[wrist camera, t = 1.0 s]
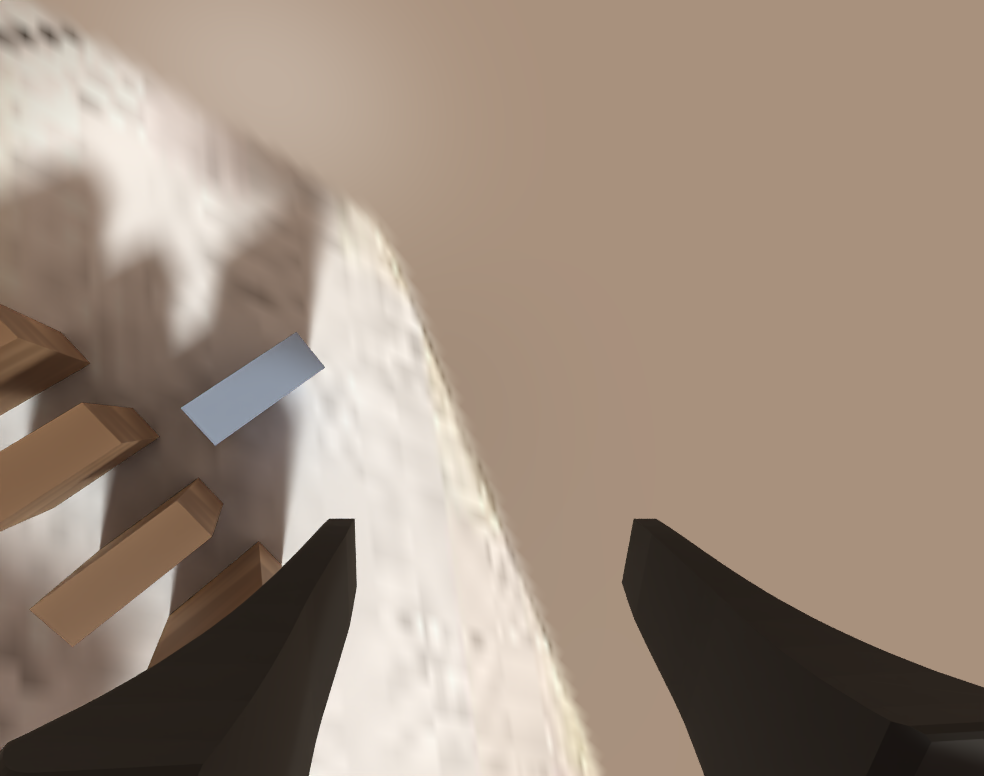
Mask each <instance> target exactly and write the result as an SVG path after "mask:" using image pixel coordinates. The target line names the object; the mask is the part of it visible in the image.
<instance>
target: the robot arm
mask: <svg viewBox="0 0 984 776" xmlns="http://www.w3.org/2000/svg"><path fill="white" fill-rule="evenodd" d="M622 584H623V587H624V590H625V593H626V597H627V600H628V603H629V606H630V608H631V611H632V614H633V617H634V620H635V621H636V624H637V626H638V628H639V630H640V632H641V634H642V636H643V638H644V640H645V643H646V645H647V647H648V649H649V651H650V653H651V655H652V657H653V659H654V661H655V663H656V665H657V667H658V669H659V671H660V673H661V675H662V677H663V679H664V681H665V683H666V685H667V687H668V689H669V691H670V693H671V695H672V697H673V699H674V701H675V703H676V706H677V708H678V710H679V712H680V714H681V717H682V719H683V721H684V723H685V726H686V728H687V731H688V734H689V736H690V739H691V741H692V744H693V747H694V749H695V752H696V754H697V757H698V759H699V762H700V765H701V767H702V770H703V773H704V776H984V687H981V686H978V685H975V684H972V683H969V682H966V681H963V680H960V679H957V678H954V677H951V676H948V675H945V674H943V673H939V672H937V671H934V670H931V669H928V668H926V667H923V666H921V665H918V664H916V663H913V662H910V661H908V660H906V659H903V658H901V657H898V656H895V655H893V654H891V653H888V652H886V651H883V650H881V649H879V648H876V647H874V646H872V645H869V644H867V643H865V642H863V641H860V640H858V639H856V638H854V637H852V636H850V635H847V634H845V633H843V632H841V631H839V630H836V629H835V628H832V627H830V626H828V625H826V624H824V623H822V622H820V621H818V620H816V619H814V618H812V617H810V616H809V615H807V614H805V613H803V612H801V611H799V610H797V609H795V608H794V607H792V606H790V605H788V604H786V603H785V602H783V601H781V600H779V599H777V598H776V597H774V596H772V595H771V594H769V593H767V592H765V591H764V590H762V589H761V588H759V587H757V586H756V585H754V584H752V583H751V582H749V581H748V580H746V579H745V578H743V577H741V576H740V575H738V574H737V573H735V572H734V571H732V570H731V569H729V568H728V567H726V566H725V565H723V564H722V563H720V562H719V561H717V560H716V559H714V558H713V557H712V556H710V555H709V554H707V553H706V552H704V551H703V550H701V549H700V548H698V547H697V546H696V545H694V544H693V543H691V542H690V541H689V540H687V539H686V538H684V537H683V536H681V535H680V534H678V533H677V532H676V531H674V530H673V529H671V528H670V527H668V526H666V525H665V524H663V523H662V522H660V521H658V520H657V519H634V520H633V525H632V531H631V536H630V542H629V547H628V553H627V558H626V564H625V569H624V574H623V580H622ZM356 587H357V581H356V548H355V519H329V520H327V521H326V522H325V523H324V524H323V525H322V526H321V527H320V528H319V529H318V531H317V532H316V533H315V534H314V535H313V536H312V537H311V538H310V539H309V540H308V541H307V542H306V543H305V544H304V545H303V547H302V548H301V549H300V550H299V551H298V552H297V553H296V554H295V555H294V556H293V557H292V558H291V559H290V560H289V561H288V562H287V563H286V564H285V565H284V566H283V567H282V568H281V569H280V570H279V571H278V572H277V573H275V574H274V575H273V576H272V577H271V578H270V579H269V580H268V581H267V582H266V583H265V584H263V585H262V586H261V587H260V588H259V589H258V590H257V591H256V592H254V593H253V594H252V595H251V596H250V597H249V598H248V599H247V600H245V601H244V602H243V603H242V604H241V605H239V606H238V607H237V608H236V609H235V610H233V611H232V612H231V613H230V614H228V615H227V616H226V617H224V618H223V619H222V620H220V621H219V622H218V623H216V624H215V625H214V626H212V627H211V628H210V629H208V630H207V631H205V632H204V633H203V634H201V635H200V636H198V637H197V638H195V639H194V640H192V641H191V642H189V643H188V644H186V645H185V646H183V647H182V648H180V649H179V650H177V651H176V652H174V653H173V654H171V655H170V656H168V657H167V658H165V659H164V660H162V661H160V662H159V663H157V664H156V665H154V666H152V667H151V668H149V669H147V670H146V671H144V672H142V673H141V674H139V675H137V676H136V677H134V678H132V679H131V680H129V681H127V682H125V683H124V684H122V685H120V686H118V687H116V688H115V689H113V690H111V691H109V692H108V693H106V694H104V695H102V696H100V697H98V698H97V699H95V700H93V701H91V702H89V703H87V704H85V705H83V706H82V707H80V708H78V709H76V710H74V711H71V712H69V713H67V714H65V715H63V716H61V717H59V718H57V719H55V720H53V721H51V722H49V723H47V724H45V725H43V726H41V727H39V728H37V729H35V730H33V731H31V732H29V733H27V734H25V735H23V736H21V737H19V738H17V739H15V740H12V741H10V742H8V743H7V744H6V745H5V746H4V747H3V749H2V750H1V751H0V776H309V772H310V767H311V762H312V757H313V752H314V748H315V743H316V739H317V735H318V731H319V728H320V724H321V720H322V717H323V713H324V710H325V707H326V703H327V700H328V697H329V693H330V690H331V687H332V684H333V680H334V677H335V674H336V670H337V667H338V664H339V660H340V657H341V654H342V650H343V647H344V644H345V640H346V637H347V633H348V630H349V626H350V621H351V616H352V611H353V605H354V599H355V593H356Z"/></svg>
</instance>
